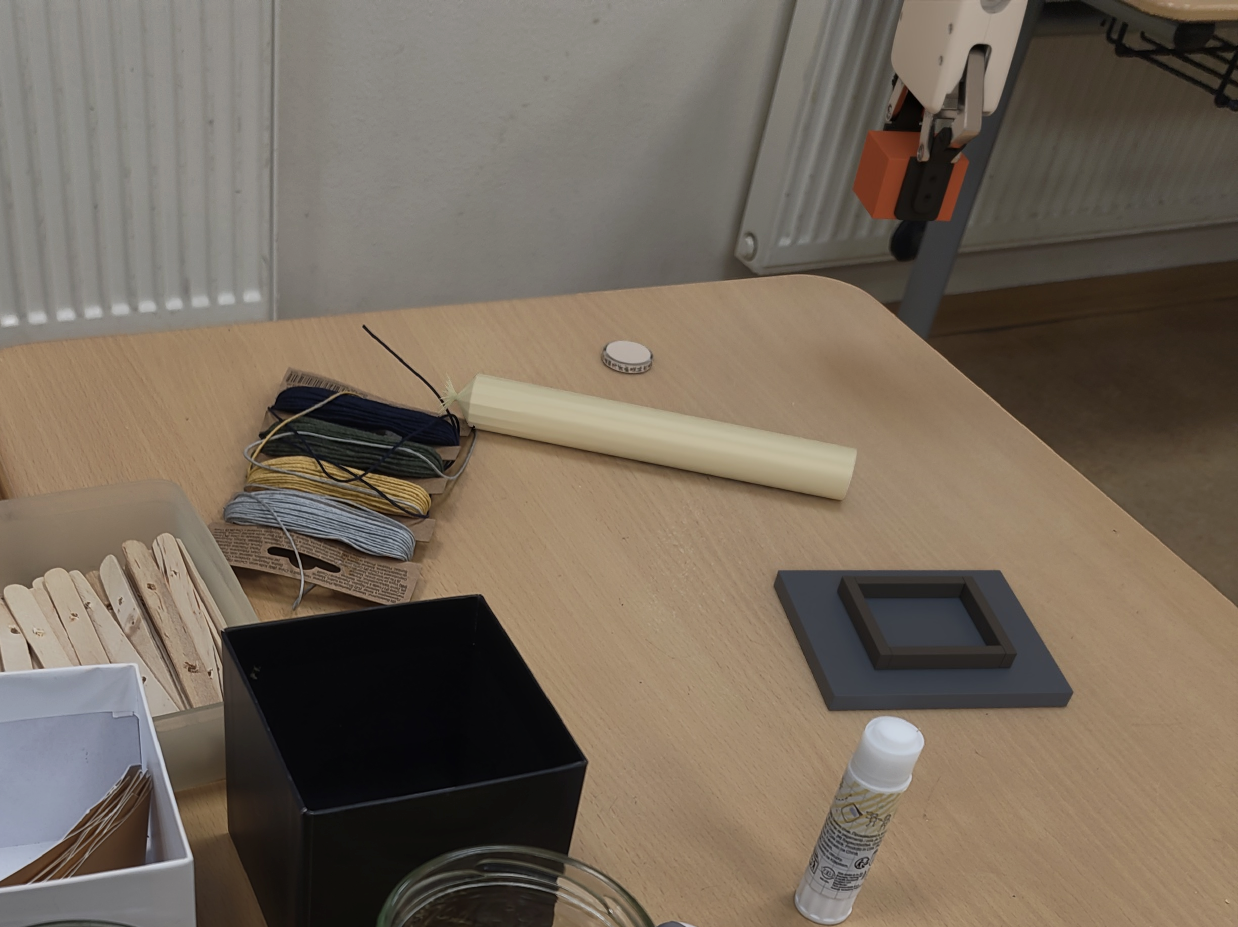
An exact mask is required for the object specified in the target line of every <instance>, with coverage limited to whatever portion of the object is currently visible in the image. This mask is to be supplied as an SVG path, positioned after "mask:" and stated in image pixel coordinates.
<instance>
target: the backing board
mask: <svg viewBox="0 0 1238 927" xmlns="http://www.w3.org/2000/svg"><path fill="white" fill-rule="evenodd" d="M773 587H774V588H775V591H776V593H777V594H776V595H777V596H778V598H779V600H780V602H781V605H782V607H783V609H784V612H785V614H786V617H787V619H788V621H789V623H790V625H791V627H792V630H793V632H794V635H795V637H796V639H797V641H798V643H799V646H800V648H801V650H802V652H803V655H804V657H805V659H806V661H807V664H808V666H809V669H810V671H811V673H812V675H813V677H814V680H815V682H816V684H817V686H818V688H819V691H820V694H821V696H822V698H823V700H824V702H825V705H826V707H827V709H828V711H881V710H882V711H883V710H939V709H940V710H944V709H945V710H946V709H947V710H948V709H950V710H951V709H999V708H1000V709H1001V708H1004V709H1005V708H1006V709H1007V708H1064V707H1067V706H1068V704H1069V702H1070V700H1071V699H1072V696H1073V695H1074V693H1075V692H1074V689H1073V688H1072V686H1071V685H1070V683H1069V682H1068V680H1067V678H1066V677H1065V675H1064V673H1063V672H1062V670H1061V668H1060V666H1059V665H1058V663H1057V661H1056V660H1055V658H1054V656H1053V655H1052V654H1051V652H1050V650H1049V648H1048V647H1047V645H1046V644H1045V642H1044V640H1043V639H1042V637H1041V635H1040V634H1039V632H1038V630H1037V628H1036V627H1035V625H1034V624H1033V622H1032V620H1031V619H1030V617H1029V615H1028V614H1027V612H1026V611H1025V609H1024V606H1023V605H1022V604H1021V602H1020V600H1019V599H1018V597H1017V596H1016V594H1015V592H1014V590H1013V589H1012V587H1011V586H1010V584H1009V582H1008V580H1007V579H1006V577H1005V576H1004V574H1003V572H1002V570H1000V569H778V570H777V573H776V576H775V580H774V582H773Z"/></svg>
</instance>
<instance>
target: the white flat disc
mask: <svg viewBox="0 0 1238 927" xmlns="http://www.w3.org/2000/svg"><path fill="white" fill-rule="evenodd" d="M601 360H602V362H603V363H604V365H606V366H607V367H609V368H611V369H613V370H615V371H618V372H620V373H621V372H622V373H627V374H638V373H644V372H646V371H648V370H650V369H651V367H652V366H653V360H654V353H653V351H652V350H651V349H650V348H649V347H648V346H646V345H644V344H642V343H639V342H636V341H633V340H626V339H625V340H624V339H619V340H613V341H610V342H609V341H608V342H607V343H606V344H605V345H604V346H603V348H602V354H601Z"/></svg>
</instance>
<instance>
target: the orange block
mask: <svg viewBox="0 0 1238 927" xmlns="http://www.w3.org/2000/svg"><path fill="white" fill-rule="evenodd" d="M937 133H938V132H935V135H934V137H935V136H936V135H937ZM920 134H921V132H900V131H883V130H873V129H872V130H867V133H866V137H865V141H864V144H863V148H862V152H861V156H860V158H859V163H858V167H857V170H856V174H855V177H854V180H853V181H854V182H853V184H852V185H853V186H852V191H853V193H854V194H855V195H856V197H857V199H858V200H859V202H861V204H862V206H863V207H864V209H865V210H866V212H867V213H868V215H869V216H870V217H871V219H873V220H898V219H897V218H896V217H895V215H894V210H895V207H896V203H897V200H898V196H899V193H900V190H901V186H902V183H903V180H904V176H905V173H906V169H907V166H908V163H909V159H910V156H915V157H917V150H918V145H919V139H920ZM969 164H970V160H969V159H968V158H967V157H966V155H965V154H964V153H963V152H961V156H960V159H959V161H958V162H957V163H956V164H955V165H954V168H953V171H952V174H951V177H950V181H949V184H948V187H947V190H946V193H945V196H944V199H943V203H942V206H941V209H940V212H939V215H938V217H937V219H936V220H934V221H933V222H935V221H938V222H939V221H940V222H950V221H951V220H952V216H953V213H954V210H955V207H956V204H957V201H958V198H959V195H960V191H961V190H962V185H963V183H964V180H965V176H966V173H967V170H968V167H969Z"/></svg>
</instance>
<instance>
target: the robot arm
mask: <svg viewBox="0 0 1238 927" xmlns="http://www.w3.org/2000/svg"><path fill="white" fill-rule="evenodd" d="M1028 1H1029V0H903V4H902V7H901V10H900V13H899V18H898V22H897V26H896V30H895V33H894V37H893V43H892V49H891V52H890V53H891V54H890V61H891V66H892V68H893V71H894V75H893V76H892V79H891V86H892V92H891V95H890V98H889V101H888V103H887V106H886V109H885V115H884V116H885V121H886V122H884V125H883V128H882V131H900V132H921V134H920V139H919V145H918V150H917V157H915V156H910V159H909V163H908V166H907V169H906V173H905V176H904V180H903V183H902V186H901V190H900V193H899V196H898V200H897V203H896V207H895V210H894V215H895V217H896V218H897V219H896V220H897V221H908V222H909V221H910V222H935V221H934V220H936V219H937V217H938V215H939V212H940V209H941V206H942V203H943V199H944V196H945V193H946V190H947V187H948V184H949V181H950V177H951V174H952V171H953V168H954V165H955V164H956V163H957V162H958V161H959V159H960V156H961V152H962V151H963V150H964V149H965V148H966V147H967V145H968V143H970V142H971V141H973V140H974V139H975V138H977V137H978V136H979V135H980V133H981V130H982V124H983V117H989V116H991V115H993V113H994V112H995V111H996V110H997V108H998V106H999V103H1000V100H1001V97H1002V94H1003V91H1004V88H1005V85H1006V82H1007V78H1008V74H1009V72H1010V71H1009V70H1010V68H1011V64H1012V61H1013V58H1014V54H1015V51H1016V47H1017V44H1018V40H1019V37H1020V33H1021V30H1022V25H1023V22H1024V18H1025V14H1026V10H1027V7H1028V6H1027V5H1028ZM947 99H949V100H957V107H956V108H954V107H952V108H951V107H945V104H944V103H945V100H947ZM938 120H953V121H952V122H951V125H949V126H943V127H942V128H941V129H940V130H939V131H938V132H936V129H937V124H938ZM935 133H937V135H936V136H935V137H934V135H935ZM962 153H963V152H962Z"/></svg>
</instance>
